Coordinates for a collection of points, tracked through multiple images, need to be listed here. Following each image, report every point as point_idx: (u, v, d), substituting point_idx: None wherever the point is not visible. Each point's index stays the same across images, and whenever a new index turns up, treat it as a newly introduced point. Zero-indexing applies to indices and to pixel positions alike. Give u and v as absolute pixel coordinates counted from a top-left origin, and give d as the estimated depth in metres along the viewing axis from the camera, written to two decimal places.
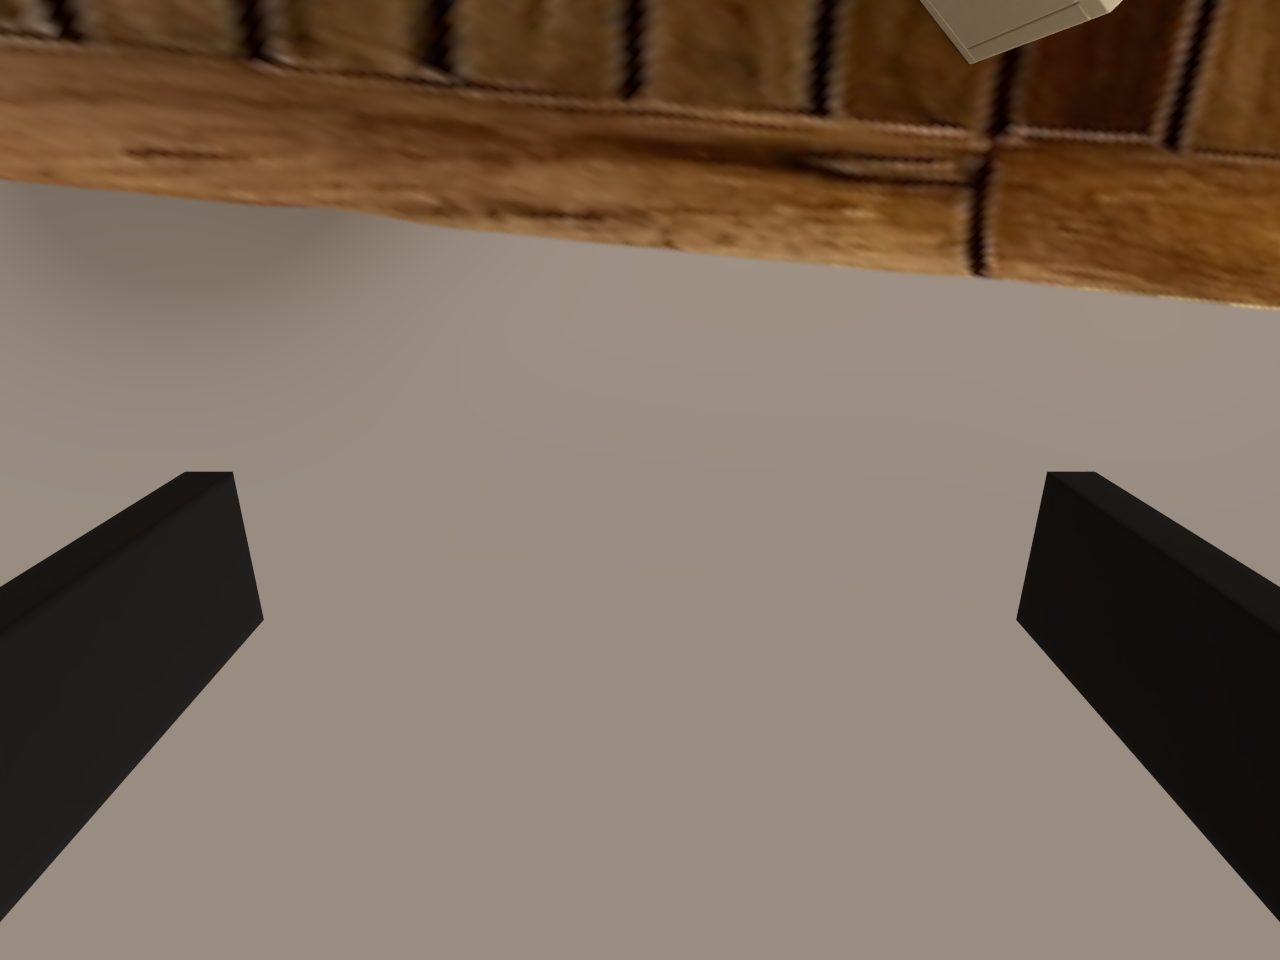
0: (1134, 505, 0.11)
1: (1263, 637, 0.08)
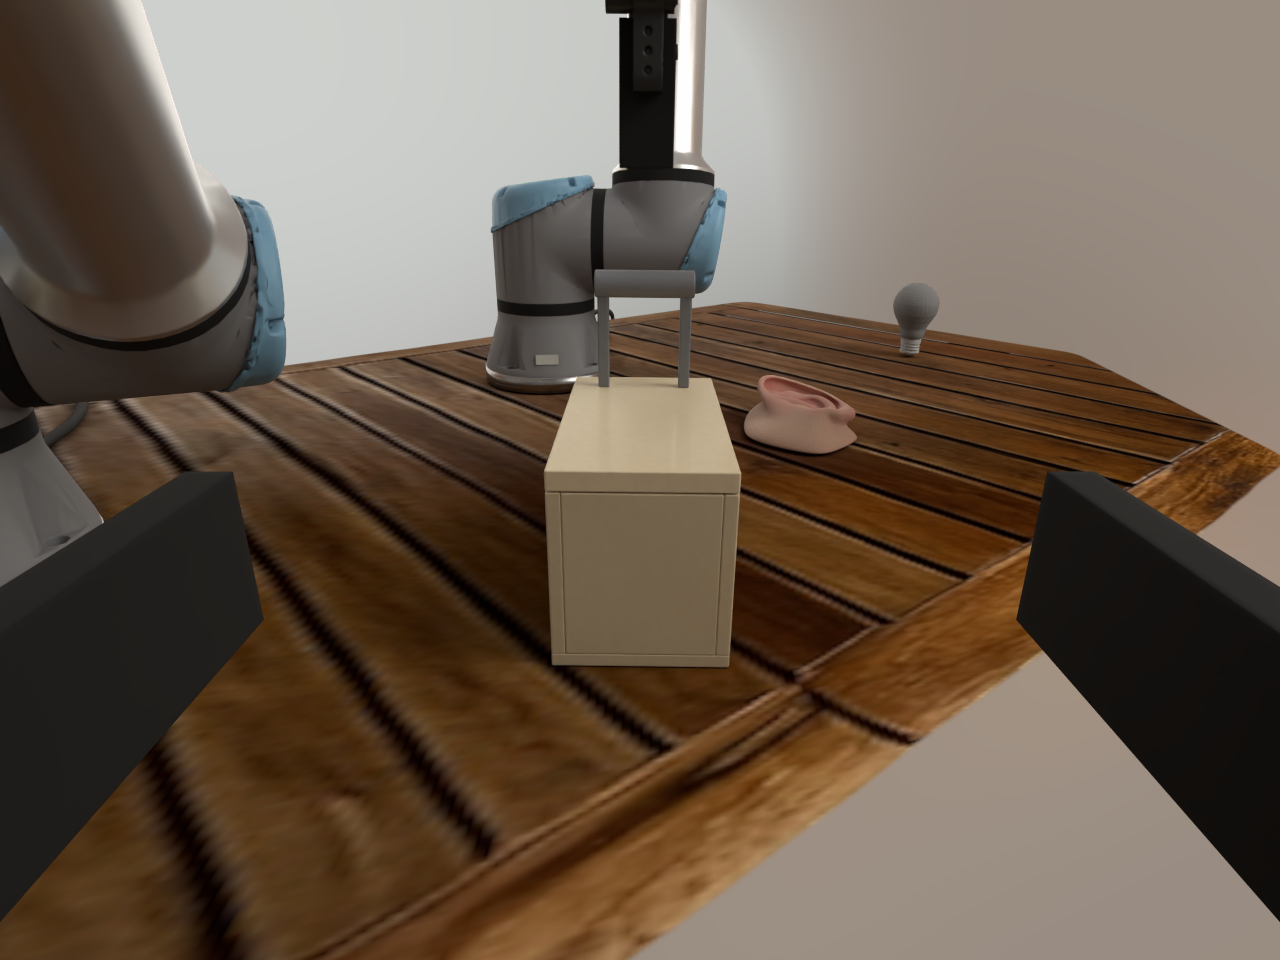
0: (1134, 505, 0.11)
1: (1263, 637, 0.08)
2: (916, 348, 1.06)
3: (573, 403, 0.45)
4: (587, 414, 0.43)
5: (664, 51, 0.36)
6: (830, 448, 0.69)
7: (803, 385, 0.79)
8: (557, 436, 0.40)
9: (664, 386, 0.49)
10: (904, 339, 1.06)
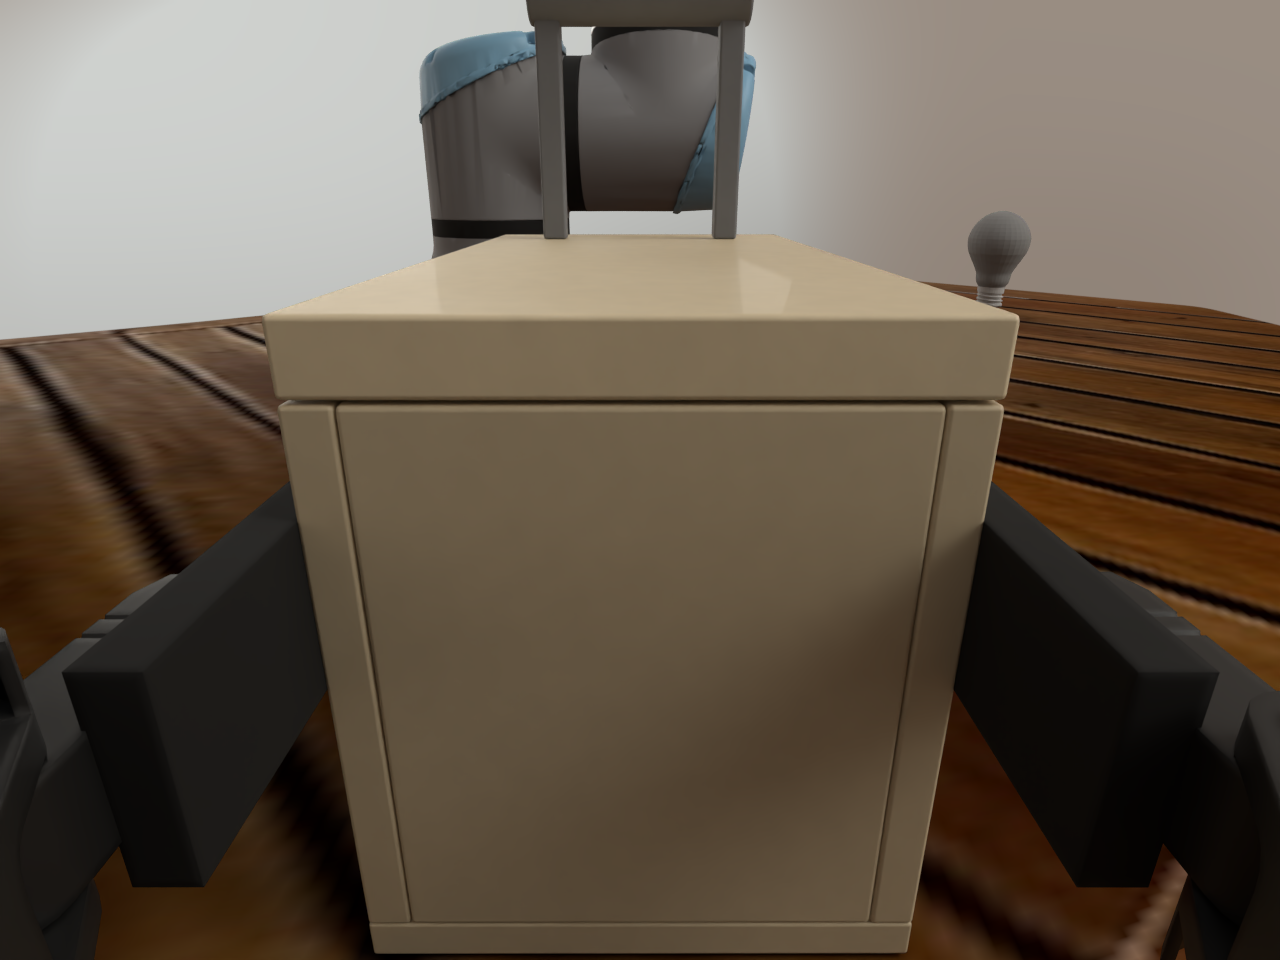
0: None
1: (1028, 579, 0.09)
2: (999, 299, 0.80)
3: (476, 248, 0.19)
4: (500, 254, 0.17)
5: None
6: None
7: None
8: (392, 273, 0.14)
9: (683, 238, 0.23)
10: (983, 287, 0.80)
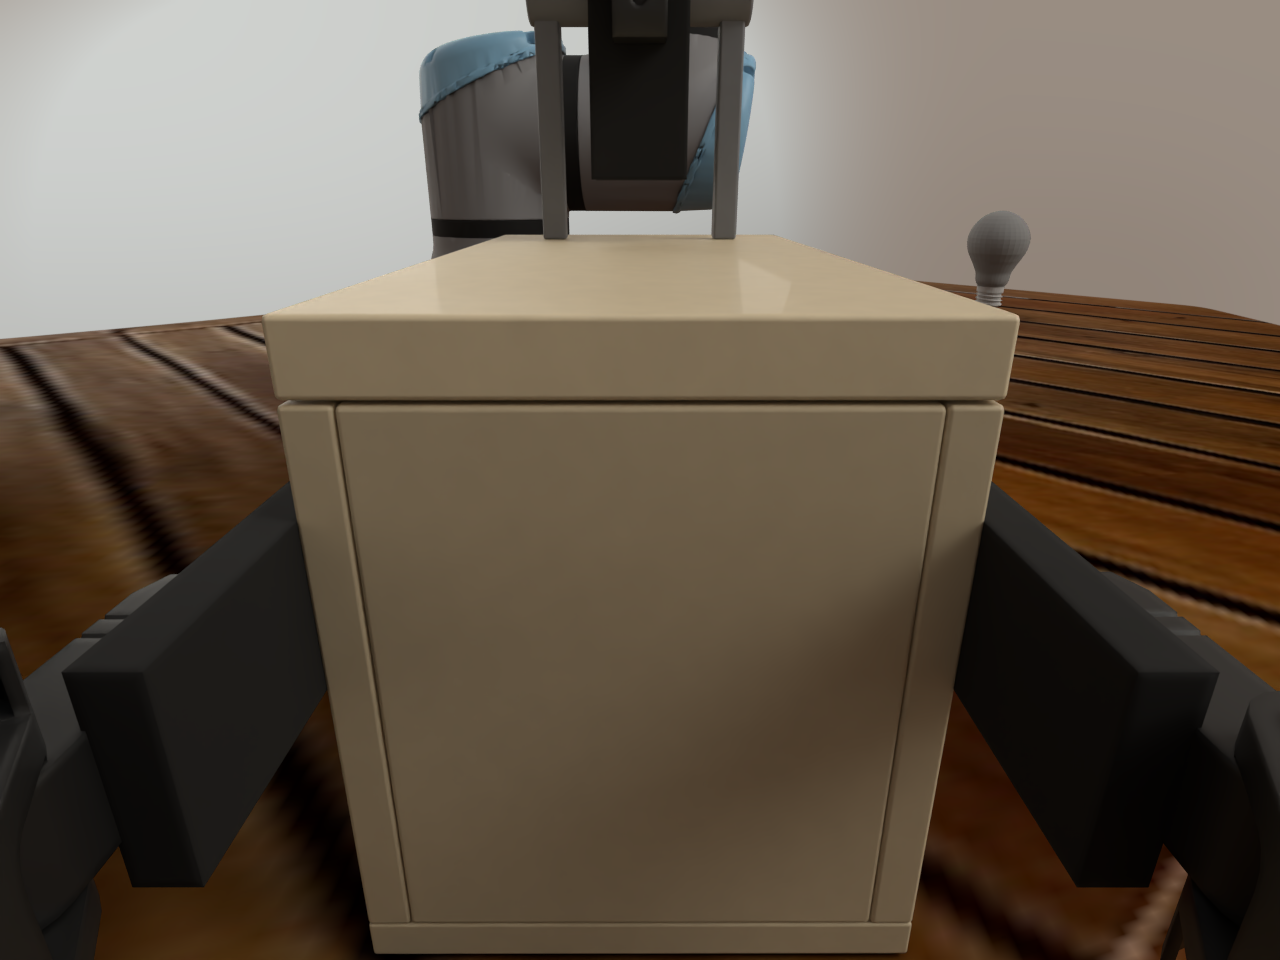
0: None
1: (1028, 579, 0.09)
2: (998, 299, 0.80)
3: (476, 248, 0.19)
4: (500, 254, 0.17)
5: None
6: None
7: None
8: (391, 273, 0.14)
9: (683, 238, 0.23)
10: (982, 287, 0.80)
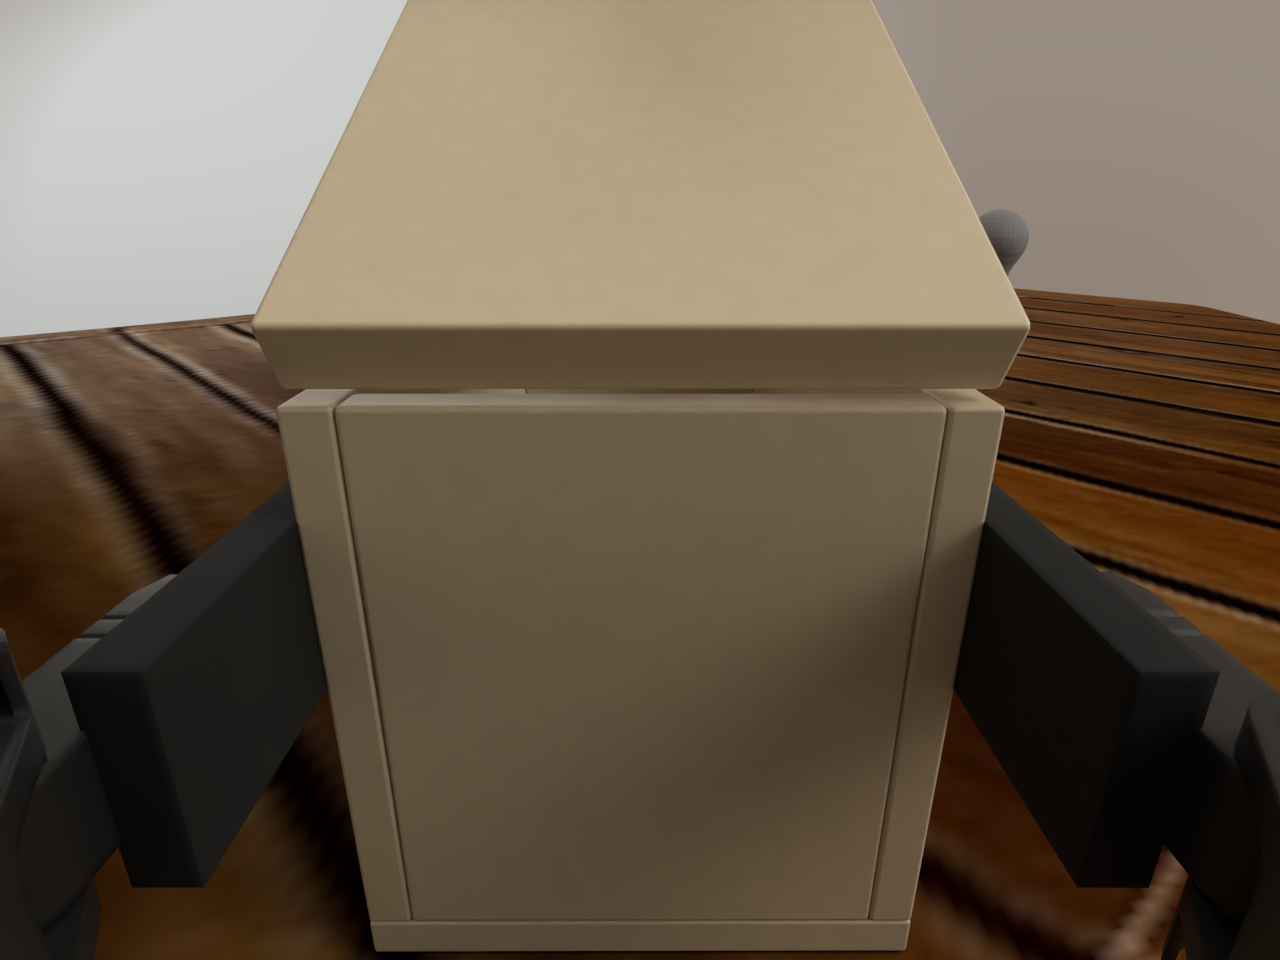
0: None
1: (1028, 579, 0.09)
2: None
3: None
4: (469, 17, 0.14)
5: None
6: None
7: None
8: (353, 119, 0.12)
9: None
10: None
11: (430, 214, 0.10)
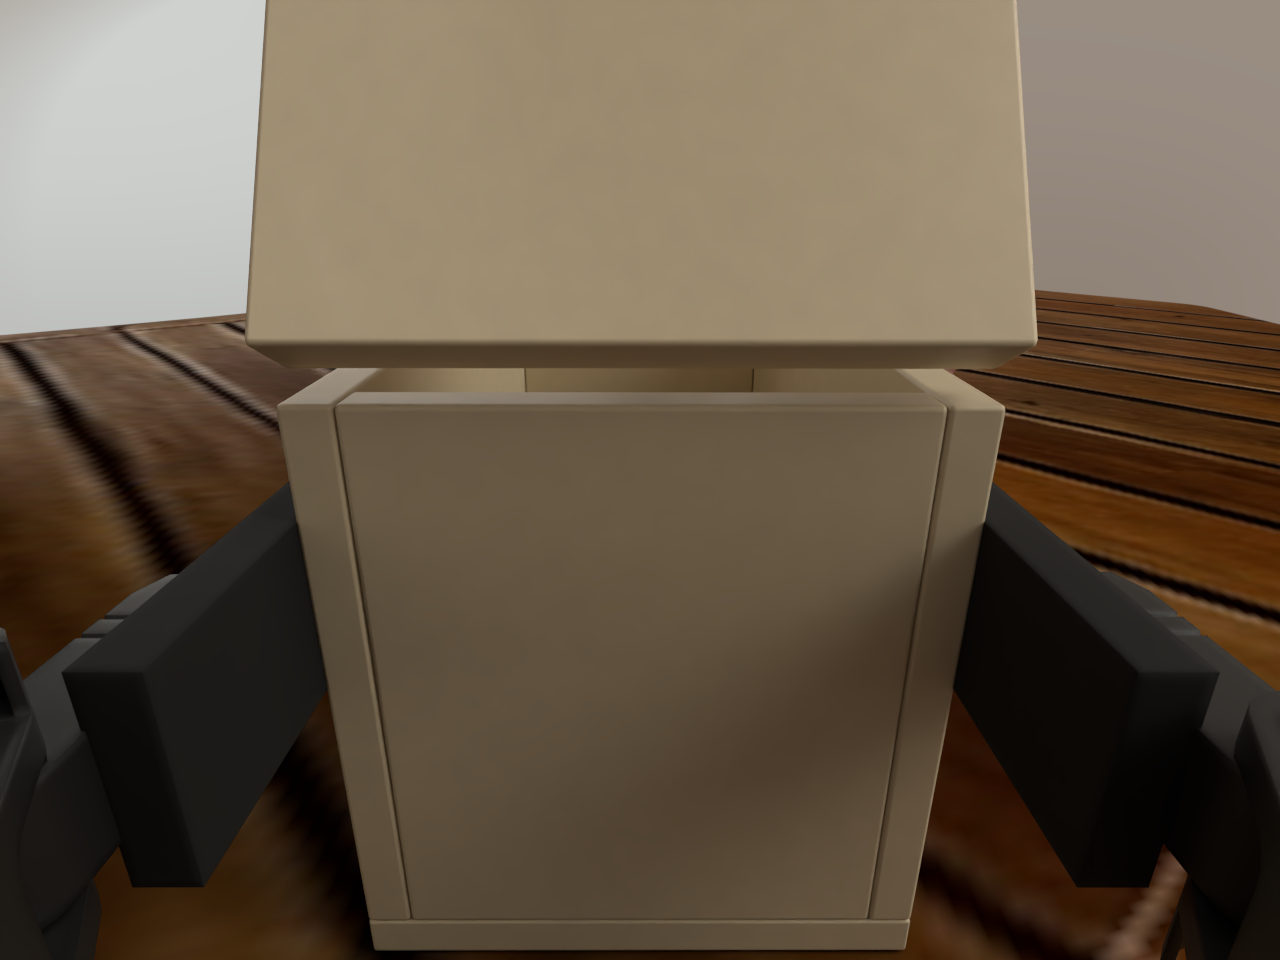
0: None
1: (1028, 579, 0.09)
2: None
3: None
4: None
5: None
6: None
7: None
8: None
9: None
10: None
11: (401, 158, 0.09)
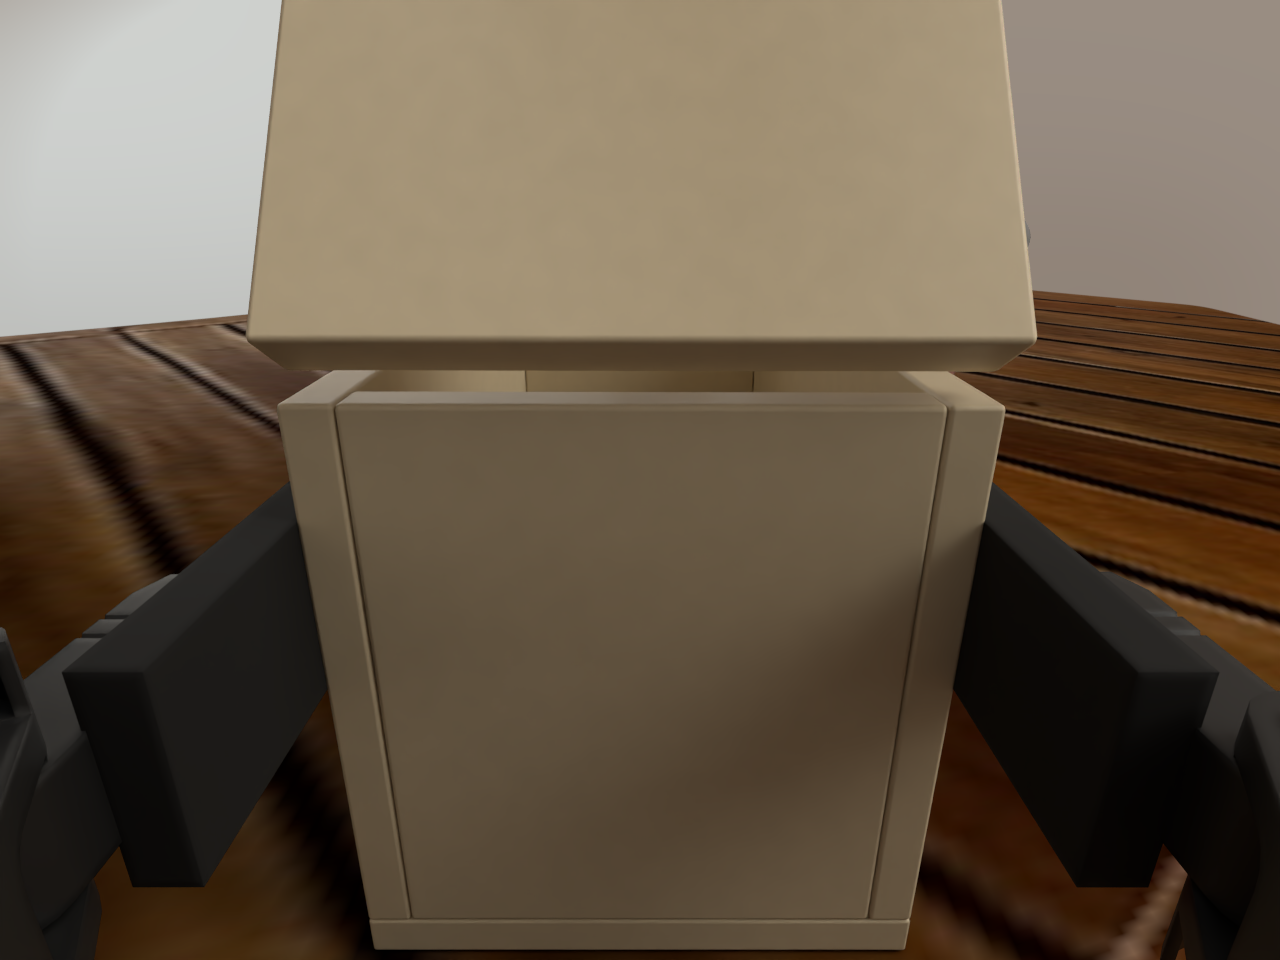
0: None
1: (1027, 579, 0.09)
2: None
3: None
4: None
5: None
6: None
7: None
8: None
9: None
10: None
11: (406, 163, 0.09)
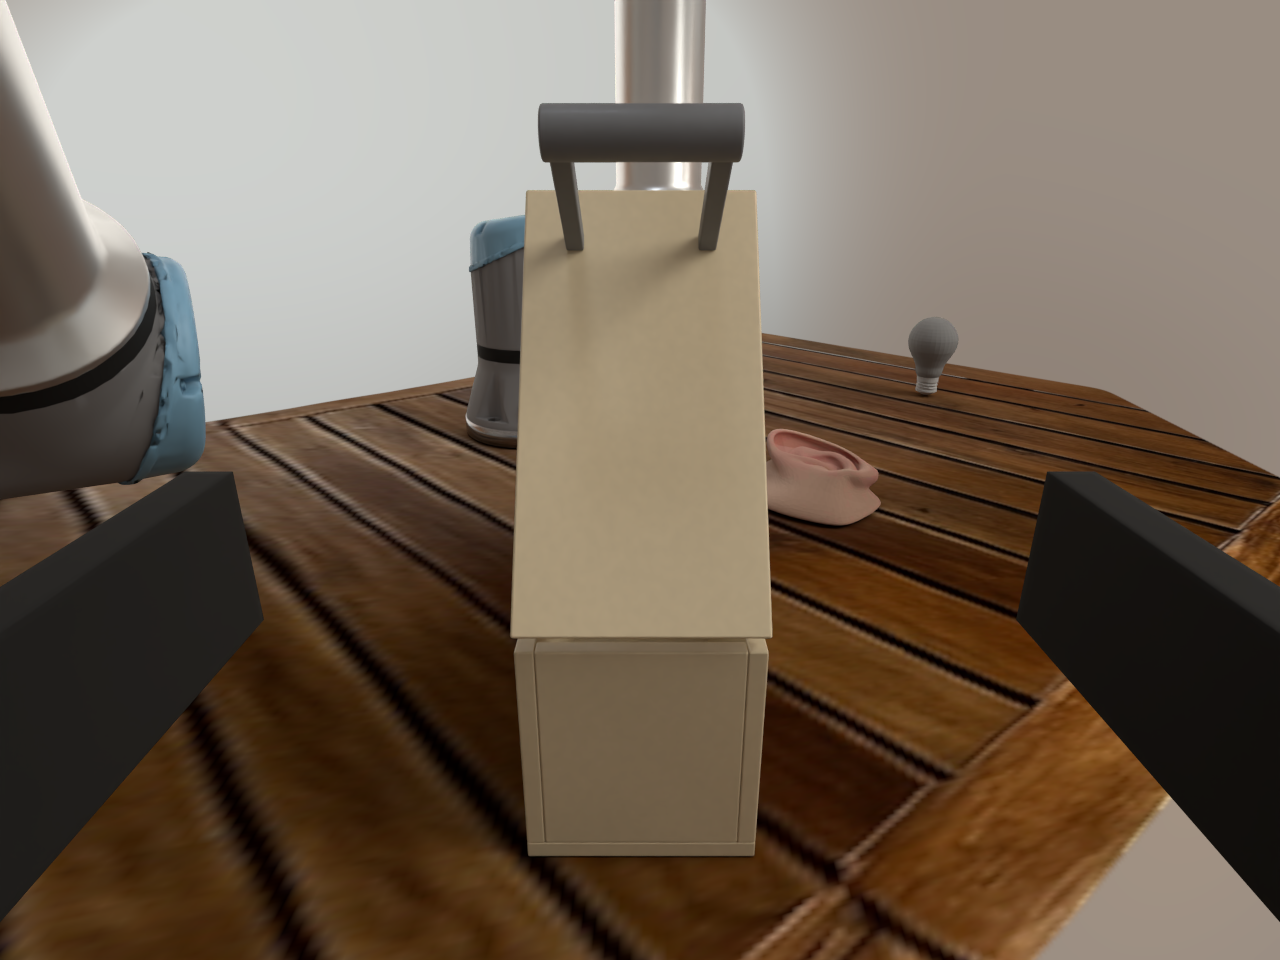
0: (1134, 505, 0.11)
1: (1263, 637, 0.08)
2: (934, 387, 0.98)
3: (530, 342, 0.29)
4: (555, 396, 0.28)
5: None
6: (852, 518, 0.61)
7: (817, 440, 0.71)
8: (517, 500, 0.28)
9: (675, 245, 0.30)
10: (920, 377, 0.98)
11: (561, 573, 0.27)
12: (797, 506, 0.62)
